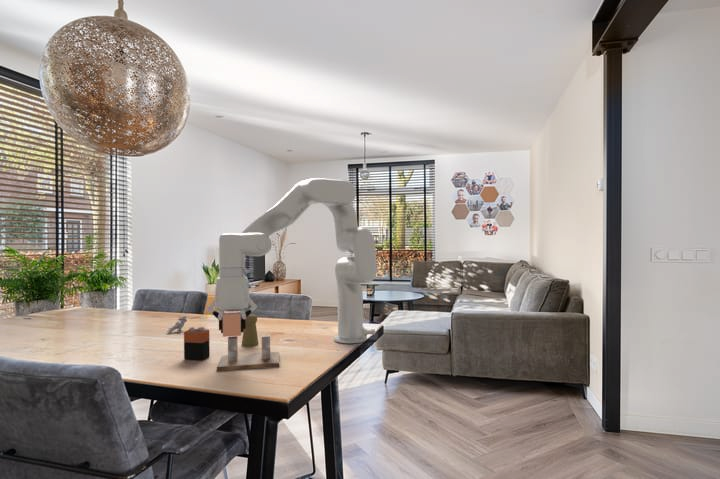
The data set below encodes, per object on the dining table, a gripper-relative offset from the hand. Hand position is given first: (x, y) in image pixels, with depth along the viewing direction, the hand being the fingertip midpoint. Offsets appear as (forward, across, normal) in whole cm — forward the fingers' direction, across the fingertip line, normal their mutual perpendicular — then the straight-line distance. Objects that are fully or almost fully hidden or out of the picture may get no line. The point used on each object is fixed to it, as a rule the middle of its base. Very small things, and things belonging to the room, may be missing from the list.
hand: (232, 331), depth 127 cm
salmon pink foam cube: (+1, 0, 0) cm, 1 cm away
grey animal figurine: (+10, +26, -52) cm, 59 cm away
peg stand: (+10, -5, 0) cm, 11 cm away
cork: (+10, -4, -23) cm, 26 cm away
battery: (+10, +12, -9) cm, 18 cm away
